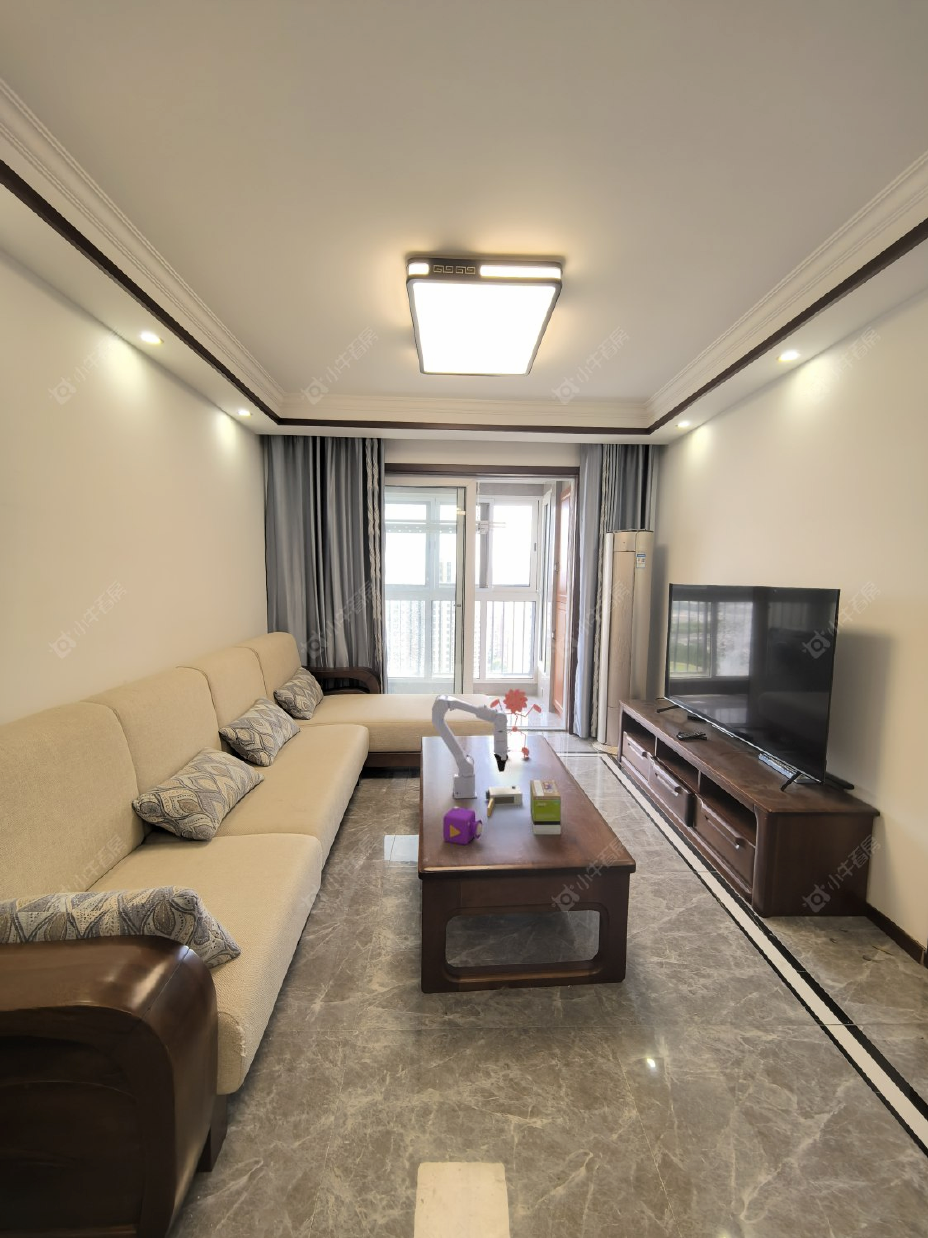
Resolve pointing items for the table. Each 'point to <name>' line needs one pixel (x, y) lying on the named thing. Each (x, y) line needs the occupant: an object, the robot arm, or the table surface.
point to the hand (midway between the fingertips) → (501, 771)
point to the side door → (490, 807)
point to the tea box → (545, 807)
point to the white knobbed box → (504, 795)
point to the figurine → (516, 708)
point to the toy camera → (461, 826)
